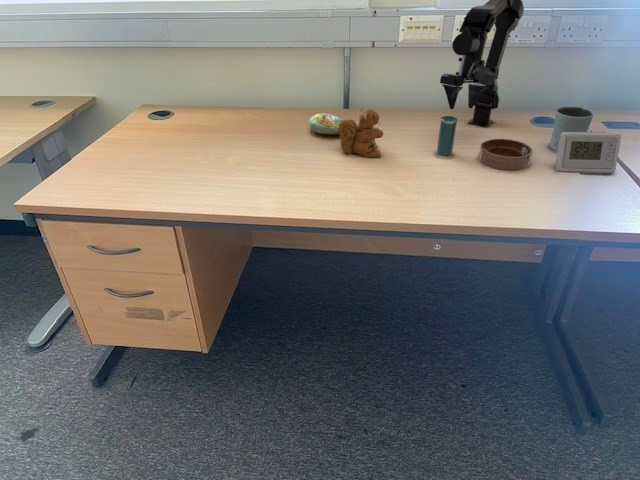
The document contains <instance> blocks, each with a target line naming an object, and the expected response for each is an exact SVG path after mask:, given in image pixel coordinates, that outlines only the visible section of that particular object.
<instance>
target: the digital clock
mask: <svg viewBox="0 0 640 480" xmlns="http://www.w3.org/2000/svg"><path fill="white" fill-rule="evenodd" d="M621 140H622V134H621V133H619V132H605V131H587V132H562V133H561V134H560V136H559V142H558V150H557V151H556V159H555V164H554V170H555V172H561V173H562V172H563V173H579V174H581V175H582V174H585V175H601V174H614V173H615V172H616V169H617V163H618V157H619V151H620V145H621Z"/></svg>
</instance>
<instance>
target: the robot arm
mask: <svg viewBox="0 0 640 480" xmlns="http://www.w3.org/2000/svg"><path fill="white" fill-rule="evenodd" d="M524 6H525V5H524V4H523V0H488V1H487V2H486V3H485V4H483V5H478V6H477V5H476V6H473V7H471V8H470V10H469V11H468V12H467V13H466V15H465V17H464V19H463V22H462V24H461V25H460V28H459V31H458V33H459V34H458V35H456V36H455V38H454V39H453V40H452V44H451V47H452V50H453V52H454V54H455V55H457V56H461V57H458V62H460V66H459V71H456V72H455V73H443V74H442V75H441V76H440V79H439V84H441V86H442V87H443V89H444V92H445V95H446V98H447V103H448V107H449V109H450V110H454V109H455V106H456V103H457V99H458V96H459V92H460V91H461V90H463V89H464V86H463V85H464V84H468V87H467V88H468V93H467V94H468V96H467V104H468V105H467V106H468V107H467V108H468V109H473V115H472V119H471V120H469V121H468V124H470V125H474V126H481V127H488V126H489V125H490V124H492V123H493V120H492V119H491V114H492V110H495V109H498V108H499V104H500V97H499V91H498V90H499V84H498V79H499V75H500V73H499V72H500V67H501V63H502V60H503V56H504V53H505V51H506V48H507V44H508V40H509V38H510V34H511V33H512V32H513V31H514V30H515V29H516V28H517V27H518V25H519V22H520V20H521V19H522V18H523V15H524V11H525V7H524ZM493 27H495V31H494V34H493V37H492V41H491V45H490V47H489V51H488V55H487V58H486V61H485V59H483V56H484V51H485V47H486V42H487V40H488V34H489V33H490V32H491V31H492V30H493Z"/></svg>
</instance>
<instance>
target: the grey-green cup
mask: <svg viewBox="0 0 640 480" xmlns="http://www.w3.org/2000/svg"><path fill="white" fill-rule="evenodd" d="M594 116H595V112H594V111H593V110H591V109H589V108H585V107H583V106H576V105H575V106H573V105H566V106H560V107H558V108H556V110H555V114H554V121H553V126H552V128H553V129H552V133H551V137H550V142H549V147H550V148H551V149H552V150H554V151H556V152H557V150H558V142H559V136H560V134H561V133H562V132H589V131H588V130H589V129H590V128H589V127H590V125H591V124H592V120H593V118H594Z"/></svg>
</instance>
